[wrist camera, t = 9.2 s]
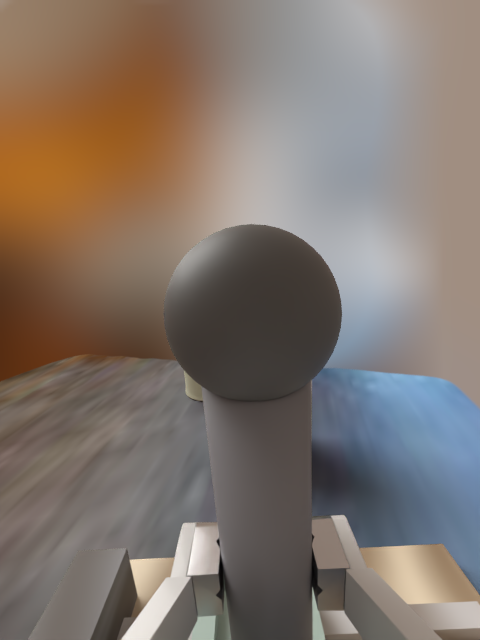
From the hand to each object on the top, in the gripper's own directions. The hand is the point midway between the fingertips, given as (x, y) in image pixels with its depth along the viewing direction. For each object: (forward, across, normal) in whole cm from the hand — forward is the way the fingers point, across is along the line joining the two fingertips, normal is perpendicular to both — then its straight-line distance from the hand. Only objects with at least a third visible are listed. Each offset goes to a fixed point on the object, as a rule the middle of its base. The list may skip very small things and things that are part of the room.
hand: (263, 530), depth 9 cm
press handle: (-1, +1, +9) cm, 9 cm away
